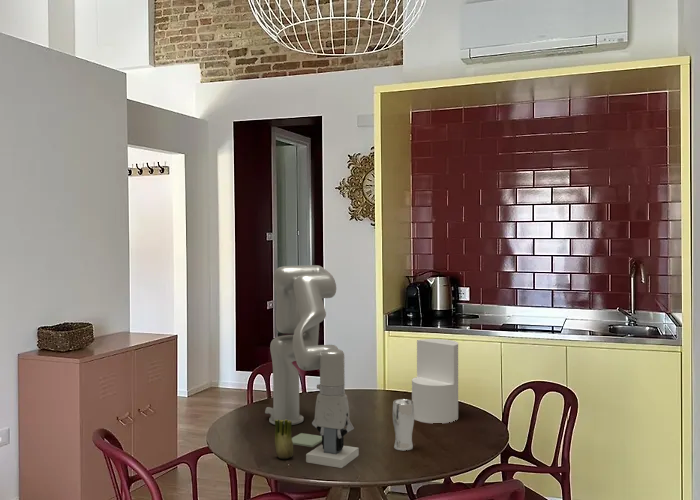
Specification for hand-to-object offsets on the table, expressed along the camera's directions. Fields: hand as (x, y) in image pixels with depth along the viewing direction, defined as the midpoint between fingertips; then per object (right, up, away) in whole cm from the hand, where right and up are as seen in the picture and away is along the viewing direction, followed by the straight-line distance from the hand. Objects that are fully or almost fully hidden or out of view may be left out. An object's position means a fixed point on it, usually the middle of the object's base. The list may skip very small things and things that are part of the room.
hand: (332, 448), depth 207 cm
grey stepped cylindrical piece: (+37, -2, +45) cm, 59 cm away
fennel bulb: (-15, -4, +2) cm, 16 cm away
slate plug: (0, -3, 0) cm, 3 cm away
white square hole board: (0, -3, 0) cm, 3 cm away
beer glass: (+23, -3, +10) cm, 25 cm away
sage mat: (-9, -3, +18) cm, 20 cm away
